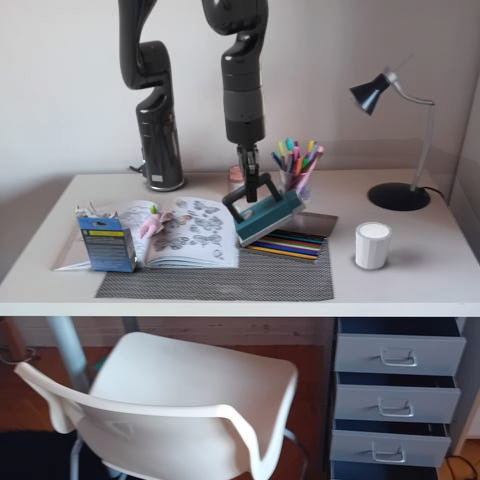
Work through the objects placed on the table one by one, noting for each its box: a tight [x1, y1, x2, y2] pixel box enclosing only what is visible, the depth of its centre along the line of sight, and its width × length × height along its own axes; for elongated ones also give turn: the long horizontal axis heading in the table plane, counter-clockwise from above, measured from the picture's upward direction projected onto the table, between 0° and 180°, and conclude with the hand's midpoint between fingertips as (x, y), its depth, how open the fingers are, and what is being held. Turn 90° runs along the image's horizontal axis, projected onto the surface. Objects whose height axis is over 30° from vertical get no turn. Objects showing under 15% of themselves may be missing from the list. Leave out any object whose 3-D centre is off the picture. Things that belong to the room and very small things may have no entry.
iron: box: [221, 171, 307, 248], centre depth 104 cm, size 15×7×10 cm, turn 95°
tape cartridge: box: [76, 216, 139, 273], centre depth 99 cm, size 9×4×12 cm, turn 79°
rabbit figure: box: [137, 204, 165, 240], centre depth 111 cm, size 6×6×15 cm
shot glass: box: [355, 221, 393, 270], centre depth 97 cm, size 7×7×7 cm
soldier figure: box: [74, 200, 119, 219], centre depth 117 cm, size 8×5×12 cm
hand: (251, 198), depth 103 cm, fingers closed on iron, 2 cm apart
